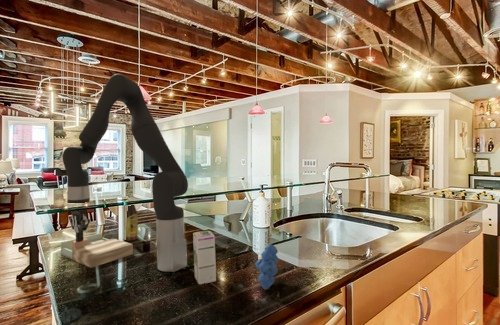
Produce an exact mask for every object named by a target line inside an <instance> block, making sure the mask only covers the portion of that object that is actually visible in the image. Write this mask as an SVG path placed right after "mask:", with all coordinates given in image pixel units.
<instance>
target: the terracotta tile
mask: <svg viewBox="0 0 500 325" xmlns="http://www.w3.org/2000/svg"><path fill="white" fill-rule="evenodd" d="M87 245H88V239H87V238H84V239H83V241H81V242H77V241H76V240H75V241H72V249H76V248H79V247H83V246H87Z"/></svg>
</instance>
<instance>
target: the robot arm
mask: <svg viewBox="0 0 500 325" xmlns="http://www.w3.org/2000/svg"><path fill="white" fill-rule="evenodd" d="M117 101H119V102H122V103H124V105H125V106H126V108H127V109H128V111H129V113H130V115H131V123H130V124H131V126H130V130H131V134H132V136H133V138H134V140H135V142H136V144H137V146H138V148H139V149H140V150H141V151H142V152H143V153H144V154H145V155H147V157H149V158H150V159H151V160H152V161H153V162H154V163H155V164H156V165H157V166H158V167H159V168H160V172H157V173H156V174H155V175H154V177H153V179H152V182H151V183H152V184H151V189H152V190H151V191H152V192H151V193H152V203H153V210H154V213H155V221H156V223H155V225H156V226H155V227H156V230H155V231H156V255H157V256H156V258H157V260H156V261H157V263H156V264H157V270H159V271H161V272H172V273H174V272H177V271H179V270H182V269H183V268H186V267H188V256H187V252H188V250H187V247H188V246H187V239H186V238H185V215H184V214H185V213H184V209H183V207H181V206H177V205H176V204H175V198H177V197H180V196H183V195H185V194H186V193H187V191H188V188H189V181H188V178H187V176H186V174H185V172H184V171H183V169H182V168H181V166H180V164H178V161H177V160H176V159H175V157H174V155H173V154H172V151H171V150H170V148H169V146H168V144H167V143H166V141H165V138H164V137H163V135H162V132H161V130H160V128H159V126H158V124H157V122H156V121H155V118H154V117H153V115H152V113H151V111H150V110H149V109H150V108H148V105H147V103H146V101H145V98H144V95H143V92H142V89H141V87H140V85H139V84H138V83H137V82H136V81H134V80H132V79H131V78H129V77H127V76H126V75H124V74H123V73H122V74H121V73H115V74H113V75H111V76H110V77H109V78H108V80H107V82H106V83H105V86H104V88H103V90H102V92H101V95H100V96H99V98H98V101H97V104H96V106H95V109H94V110H93V112H92V115H91V116H90V118H89V119H88V121H87V123H86V124H85V126H84V127H83V129H82V130H81V132H80V134H79V135H78V140H79V141H80V145H78V146H77V145H76V146H75V145H74V146H73V145H72V146H67V147H66V148H65V149H64V150H63V152H62V162H63V166H64V169H65V173H66V174H67V192H66V193H67V194H66V198H67V200H66V202H67V203H85V202H89V201H91V198H90V197H91V196H90V194H91V193H90V186H89V185H90V179H89V178H90V176H89V173H88V171H86V170H83V166H82V165H84V164H85V165H86V164H88V163H89V162H90V161H92V159H93V158H94V157H95V153H96V150H97V147H98V144H99V143H100V142H101V140H102V138H103V137H104V135H105V134H106V133H107V130H108V127H109V123H110V113H111V110H112V107H113V106H114V104H115V103H116V102H117ZM87 215H88V214H87V210H83V211H74V212H72V211H71V215H69V216H68V220H69V223H70V226H71V229H72V230H73V231H74V233H75V239H76V241H77V242H81V241H83V237H84V232H85V231H87V230H88V227H89V225H90V222H91V219H90V218H87V217H88V216H87Z"/></svg>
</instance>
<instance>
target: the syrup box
mask: <svg viewBox="0 0 500 325" xmlns="http://www.w3.org/2000/svg"><path fill="white" fill-rule="evenodd" d="M192 235H193V236H192V239H193V240H192V242H193V246H192V247H193V264H194V265H193V266H194V268H193V269H194V279H195V280H196V282H197V284H198V285H203V284H204V283H205V284H208V283H213V282H217V263H216V242H215V240H216V237H215V234H214V233H213V232H212V231H211V230H202V231H196V232H193V233H192Z"/></svg>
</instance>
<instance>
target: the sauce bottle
mask: <svg viewBox="0 0 500 325" xmlns="http://www.w3.org/2000/svg"><path fill="white" fill-rule="evenodd" d="M138 225H139V224H138V211H137V209H136V206H135V205H131V206H128V211H127V227H126V240H127V241H126V242H129V241H135V240H137V239H138V236H139V233H138V232H139V230H138Z"/></svg>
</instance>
